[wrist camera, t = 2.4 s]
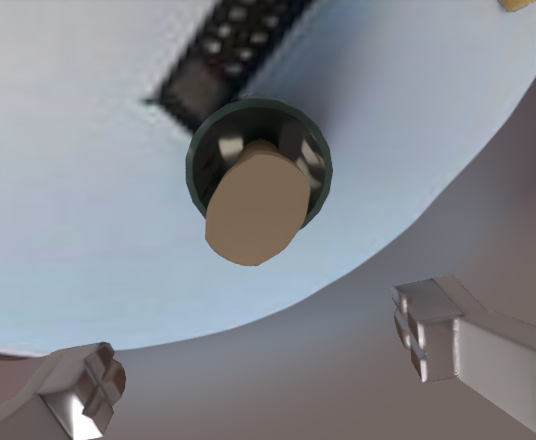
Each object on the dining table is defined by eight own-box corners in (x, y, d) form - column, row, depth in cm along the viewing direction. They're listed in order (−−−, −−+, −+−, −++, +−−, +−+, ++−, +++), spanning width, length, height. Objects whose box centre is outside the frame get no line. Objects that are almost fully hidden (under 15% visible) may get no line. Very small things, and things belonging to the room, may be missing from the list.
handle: (300, 138, 31) (329, 186, 17) (264, 194, 33) (263, 278, 19) (255, 110, 30) (247, 136, 16) (221, 170, 32) (187, 239, 18)
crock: (189, 109, 30) (164, 119, 23) (305, 80, 29) (318, 81, 22) (222, 216, 34) (210, 253, 27) (324, 193, 33) (341, 225, 26)
